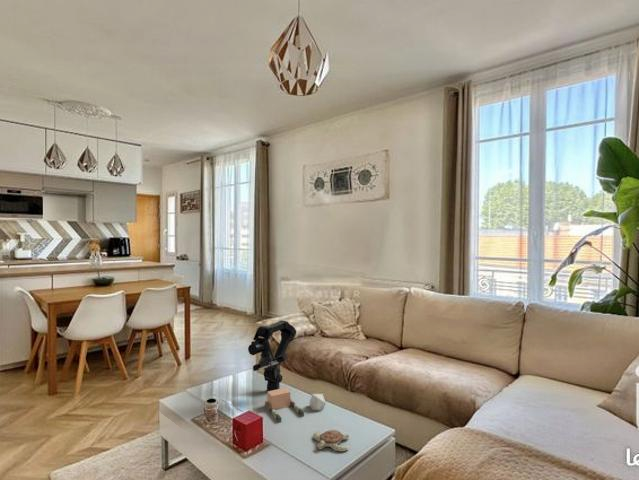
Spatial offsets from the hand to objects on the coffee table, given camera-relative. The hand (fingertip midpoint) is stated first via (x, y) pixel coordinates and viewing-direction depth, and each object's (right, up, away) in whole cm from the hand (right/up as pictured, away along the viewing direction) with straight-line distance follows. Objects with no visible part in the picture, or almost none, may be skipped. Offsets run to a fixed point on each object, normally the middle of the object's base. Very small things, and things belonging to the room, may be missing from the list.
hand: (275, 378), depth 197 cm
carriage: (+3, -10, -9) cm, 14 cm away
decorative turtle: (+28, -13, -39) cm, 50 cm away
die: (+22, -12, -11) cm, 28 cm away
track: (+6, -12, -14) cm, 20 cm away
